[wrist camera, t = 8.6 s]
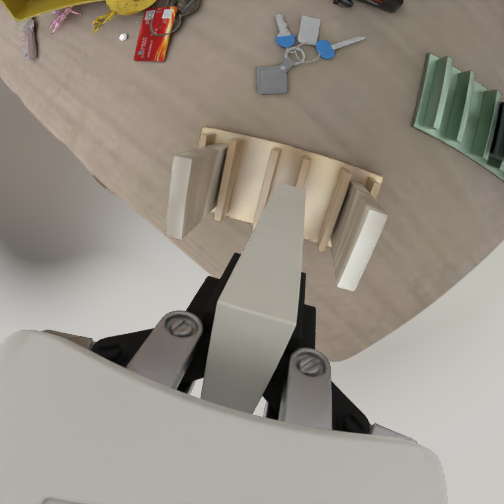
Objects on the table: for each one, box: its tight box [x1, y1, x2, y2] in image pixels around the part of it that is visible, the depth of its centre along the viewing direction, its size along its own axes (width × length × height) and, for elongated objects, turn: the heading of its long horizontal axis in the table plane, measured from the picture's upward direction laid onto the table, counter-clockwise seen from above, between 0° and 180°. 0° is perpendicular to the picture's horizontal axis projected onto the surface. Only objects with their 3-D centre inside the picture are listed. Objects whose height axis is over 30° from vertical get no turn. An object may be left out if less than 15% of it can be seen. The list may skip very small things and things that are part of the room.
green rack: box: [411, 53, 504, 182], centre depth 18 cm, size 21×10×7 cm, turn 77°
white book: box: [200, 182, 306, 414], centre depth 12 cm, size 2×7×11 cm, turn 167°
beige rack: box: [165, 127, 388, 291], centre depth 26 cm, size 21×10×12 cm, turn 77°
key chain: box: [256, 14, 365, 94], centre depth 22 cm, size 14×8×1 cm, turn 131°
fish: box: [21, 18, 37, 60], centre depth 23 cm, size 3×14×5 cm
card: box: [134, 7, 177, 62], centre depth 24 cm, size 8×1×5 cm
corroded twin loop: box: [150, 0, 199, 36], centre depth 22 cm, size 5×8×1 cm, turn 140°
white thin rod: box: [119, 6, 154, 41], centre depth 23 cm, size 1×8×1 cm, turn 130°
